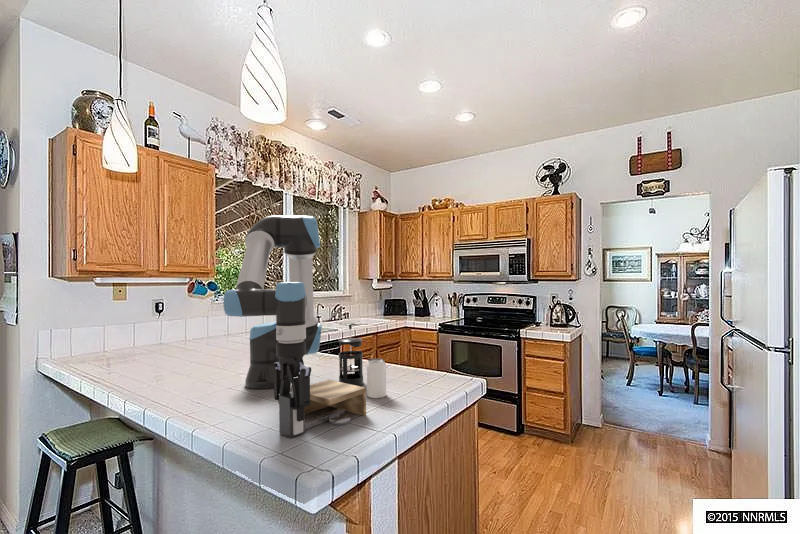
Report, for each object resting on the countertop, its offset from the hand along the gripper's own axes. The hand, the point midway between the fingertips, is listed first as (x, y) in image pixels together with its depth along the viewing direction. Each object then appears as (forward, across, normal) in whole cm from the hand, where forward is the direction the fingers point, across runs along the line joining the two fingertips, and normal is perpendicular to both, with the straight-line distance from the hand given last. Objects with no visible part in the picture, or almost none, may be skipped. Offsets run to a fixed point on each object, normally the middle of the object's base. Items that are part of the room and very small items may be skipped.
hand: (292, 430), depth 105 cm
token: (+1, +4, +14) cm, 14 cm away
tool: (+1, 0, +8) cm, 8 cm away
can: (+1, -4, +38) cm, 38 cm away
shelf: (+1, -2, +15) cm, 15 cm away
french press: (+1, -21, +42) cm, 47 cm away
